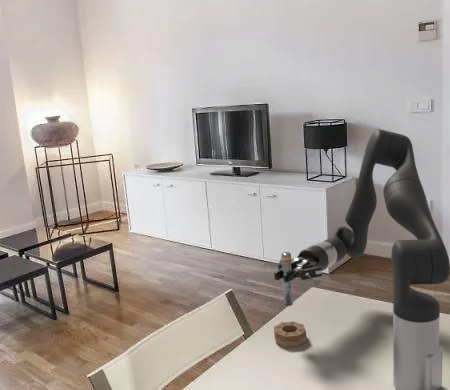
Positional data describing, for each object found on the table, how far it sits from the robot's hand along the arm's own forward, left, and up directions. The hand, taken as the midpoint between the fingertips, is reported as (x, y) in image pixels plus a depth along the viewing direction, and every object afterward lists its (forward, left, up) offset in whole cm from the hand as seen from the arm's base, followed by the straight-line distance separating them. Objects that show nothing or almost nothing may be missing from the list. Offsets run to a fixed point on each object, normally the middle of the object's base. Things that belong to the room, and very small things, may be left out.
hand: (280, 277), depth 126 cm
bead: (0, -3, -18) cm, 19 cm away
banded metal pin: (0, -3, -8) cm, 9 cm away
